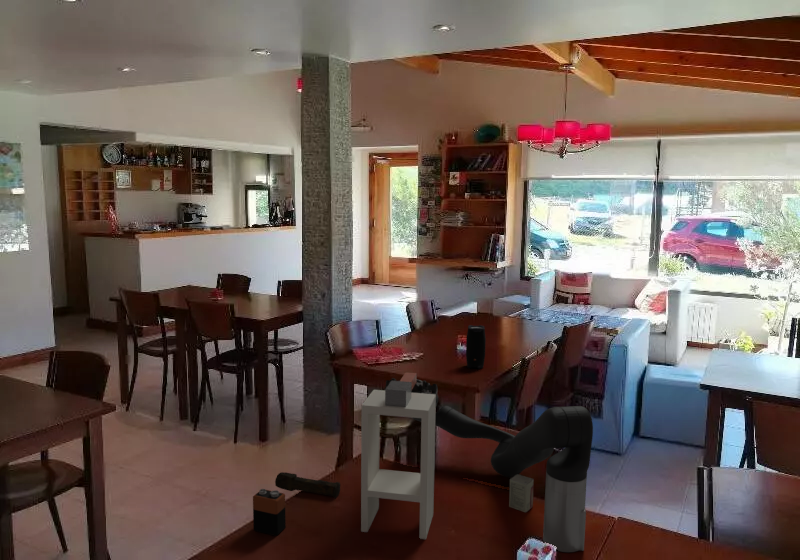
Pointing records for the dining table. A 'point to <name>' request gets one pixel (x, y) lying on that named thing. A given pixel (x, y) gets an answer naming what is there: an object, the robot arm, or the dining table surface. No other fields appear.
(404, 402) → the hammer
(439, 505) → the dining table surface
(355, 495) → the dining table surface
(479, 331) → the portable speaker
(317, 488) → the dark green flashlight
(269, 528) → the battery
